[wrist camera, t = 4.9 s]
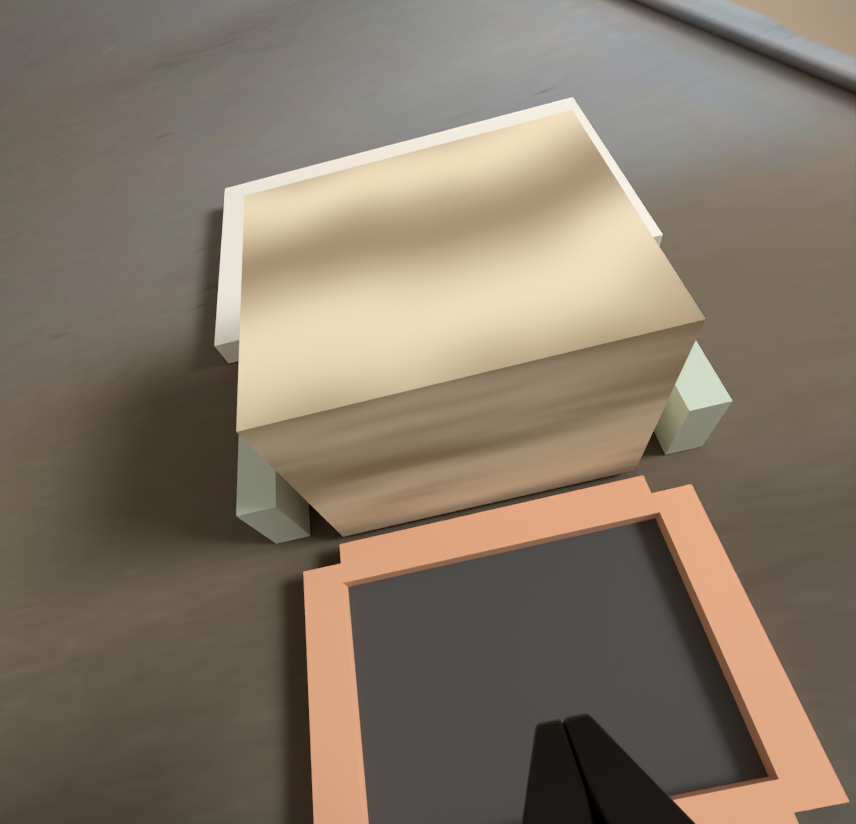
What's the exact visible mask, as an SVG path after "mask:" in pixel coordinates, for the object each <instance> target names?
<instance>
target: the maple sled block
mask: <svg viewBox="0 0 856 824" xmlns="http://www.w3.org/2000/svg"><path fill="white" fill-rule="evenodd" d="M704 321H705V318H704V316H703V315H702V313H701V311H700V310H699V308H698V307H697V305H696V304H695V302H694V300H693V299H692V297H691V296H690V294H689V293H688V291H687V289H686V288H685V286H684V285H683V283H682V282H681V280H680V278H679V277H678V275H677V274H676V272H675V271H674V269H673V267H672V266H671V264H670V263H669V261H668V260H667V258H666V256H665V255H664V253H663V252H662V250H661V249H660V247H659V245H658V244H657V242H656V241H655V239H654V238H653V236H652V234H651V233H650V231H649V230H648V228H647V227H646V225H645V223H644V222H643V220H642V219H641V217H640V216H639V214H638V212H637V211H636V209H635V208H634V206H633V205H632V203H631V201H630V200H629V198H628V197H627V195H626V194H625V192H624V190H623V189H622V187H621V186H620V184H619V183H618V181H617V179H616V178H615V176H614V175H613V173H612V172H611V170H610V168H609V167H608V165H607V164H606V162H605V161H604V159H603V157H602V156H601V154H600V153H599V151H598V150H597V148H596V146H595V145H594V143H593V142H592V140H591V139H590V137H589V135H588V134H587V132H586V131H585V129H584V127H583V126H582V124H581V123H580V121H579V120H578V118H577V116H576V115H575V113H574V112H573V110H570V111H566V112H562V113H558V114H555V115H551V116H547V117H543V118H539V119H536V120H532V121H528V122H524V123H520V124H516V125H513V126H509V127H505V128H501V129H497V130H493V131H490V132H486V133H482V134H478V135H474V136H471V137H467V138H463V139H459V140H455V141H451V142H448V143H444V144H440V145H436V146H432V147H428V148H425V149H421V150H417V151H413V152H409V153H406V154H402V155H398V156H394V157H390V158H386V159H383V160H379V161H375V162H371V163H367V164H364V165H360V166H356V167H352V168H348V169H344V170H341V171H337V172H333V173H329V174H325V175H321V176H318V177H314V178H310V179H306V180H302V181H299V182H295V183H291V184H287V185H283V186H279V187H276V188H272V189H268V190H264V191H260V192H256V193H253V194H249V195H245V196H244V222H243V251H242V280H241V309H240V338H239V367H238V396H237V425H236V432H237V433H238V434H239V435H240V436H241V437H242V438H243V439H244V440H245V441H246V442H247V443H248V444H249V445H250V446H251V447H252V448H253V449H254V450H255V451H256V452H257V453H258V454H259V455H260V456H261V457H262V458H263V459H264V460H265V461H266V462H267V463H268V464H270V465H271V466H272V467H273V468H274V469H275V470H276V471H277V472H278V473H279V474H280V475H281V476H282V477H283V478H284V479H285V480H286V481H287V482H288V483H289V484H290V485H291V486H292V487H293V488H294V489H295V490H296V491H297V492H298V493H299V494H300V495H301V496H302V497H303V498H304V499H305V500H306V501H307V502H308V503H309V504H310V505H311V506H312V507H313V508H314V509H315V510H316V511H317V512H318V513H319V514H320V515H321V516H322V517H323V518H324V519H326V520H327V521H328V522H329V523H330V524H331V525H332V526H333V527H334V528H335V529H336V530H337V531H338V532H339V533H340V534H341V535H342V536H343V537H344V536H349V535H353V534H357V533H362V532H366V531H370V530H375V529H379V528H384V527H388V526H392V525H397V524H401V523H406V522H410V521H414V520H419V519H423V518H427V517H432V516H436V515H441V514H445V513H449V512H454V511H458V510H463V509H467V508H471V507H476V506H480V505H485V504H489V503H493V502H498V501H502V500H506V499H511V498H515V497H520V496H524V495H528V494H533V493H537V492H542V491H546V490H550V489H555V488H559V487H563V486H568V485H572V484H577V483H581V482H585V481H590V480H594V479H599V478H603V477H607V476H612V475H616V474H620V473H625V472H629V471H634V470H636V468H637V465H638V463H639V461H640V459H641V457H642V455H643V453H644V450H645V448H646V446H647V444H648V442H649V440H650V437H651V435H652V433H653V431H654V429H655V427H656V425H657V422H658V420H659V418H660V416H661V414H662V412H663V410H664V407H665V405H666V403H667V401H668V399H669V397H670V394H671V392H672V390H673V388H674V386H675V384H676V382H677V379H678V377H679V375H680V373H681V371H682V369H683V367H684V364H685V362H686V360H687V358H688V356H689V354H690V351H691V349H692V347H693V345H694V343H695V341H696V339H697V336H698V334H699V332H700V330H701V328H702V326H703V324H704Z"/></svg>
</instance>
